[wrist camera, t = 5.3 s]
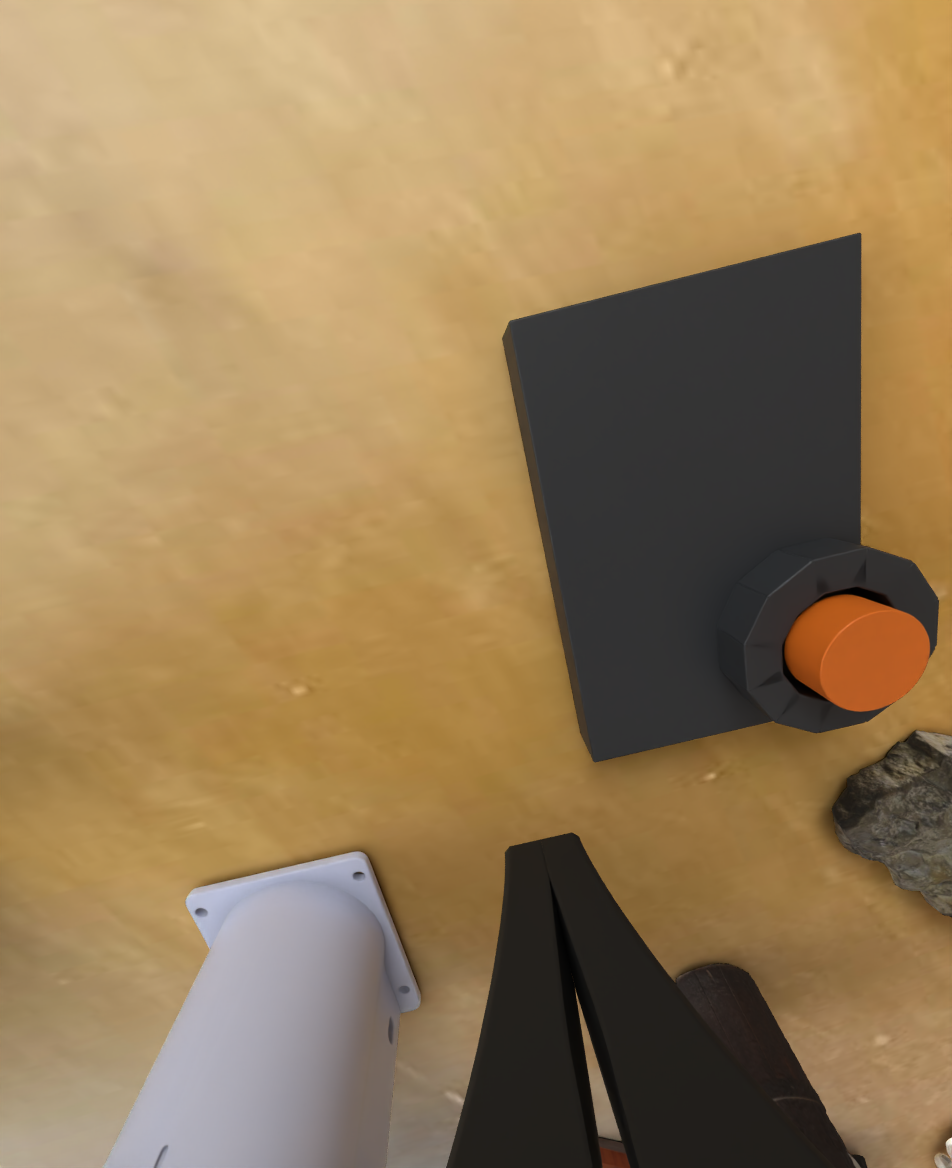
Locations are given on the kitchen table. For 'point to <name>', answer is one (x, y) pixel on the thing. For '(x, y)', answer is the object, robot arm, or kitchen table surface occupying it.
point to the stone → (905, 816)
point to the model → (613, 1154)
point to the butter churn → (762, 1050)
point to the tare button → (857, 651)
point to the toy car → (944, 1156)
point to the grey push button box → (702, 492)
